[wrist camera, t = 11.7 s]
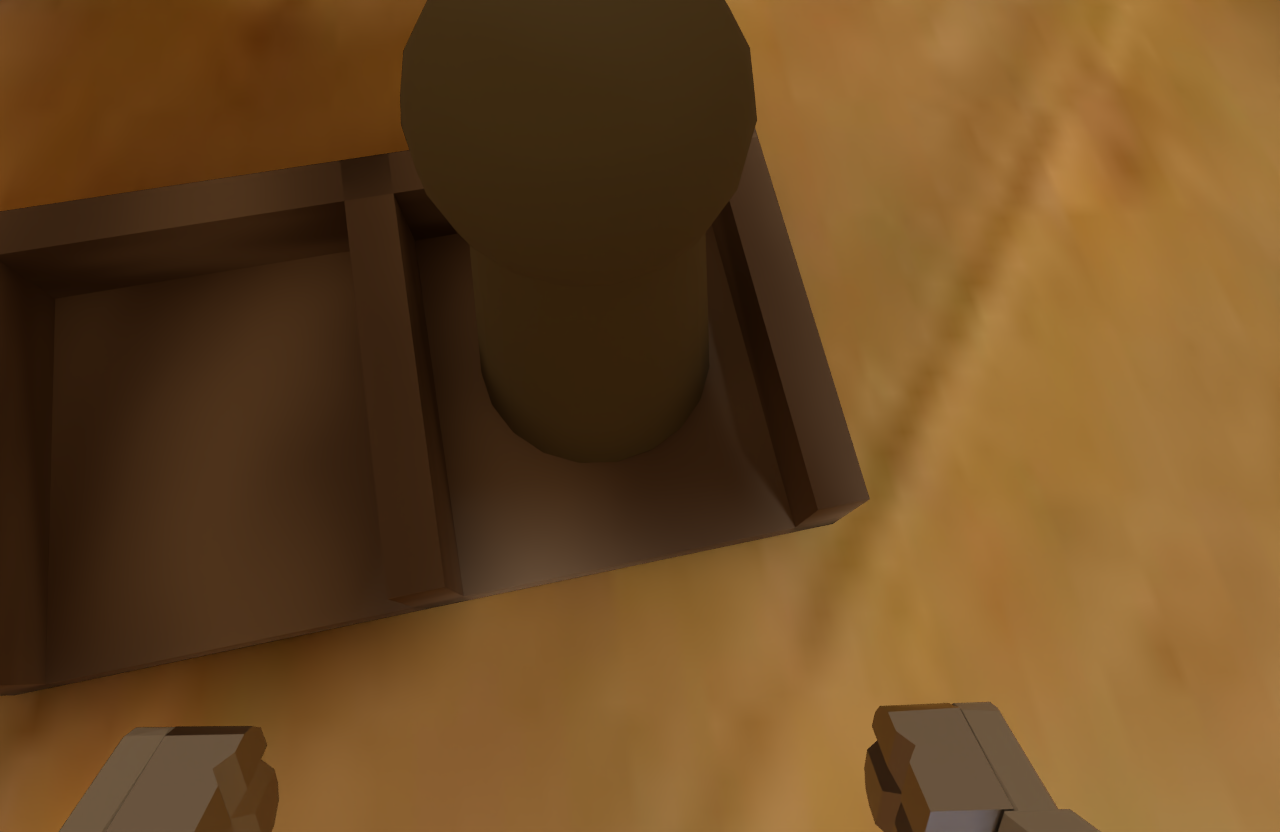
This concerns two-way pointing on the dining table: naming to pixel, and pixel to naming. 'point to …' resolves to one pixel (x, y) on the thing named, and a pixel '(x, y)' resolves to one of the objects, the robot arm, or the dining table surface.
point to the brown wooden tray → (344, 421)
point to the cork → (583, 199)
